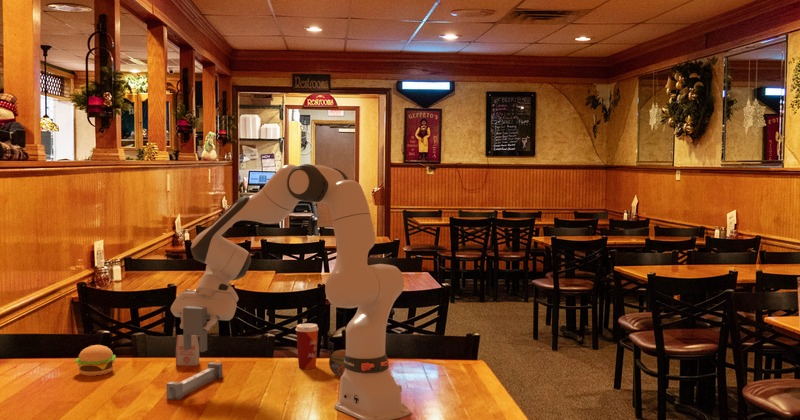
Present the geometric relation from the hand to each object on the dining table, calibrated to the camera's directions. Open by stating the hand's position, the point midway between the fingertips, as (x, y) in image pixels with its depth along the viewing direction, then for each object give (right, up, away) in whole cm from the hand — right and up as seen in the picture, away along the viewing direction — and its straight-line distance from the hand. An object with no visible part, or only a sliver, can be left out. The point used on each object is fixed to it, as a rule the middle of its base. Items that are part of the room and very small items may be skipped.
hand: (194, 329), depth 222 cm
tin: (+46, -18, +14) cm, 51 cm away
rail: (0, -18, +2) cm, 18 cm away
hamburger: (-37, -17, +18) cm, 44 cm away
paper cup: (+31, -17, +25) cm, 43 cm away
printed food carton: (-10, -17, +27) cm, 33 cm away
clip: (0, -7, +1) cm, 7 cm away
